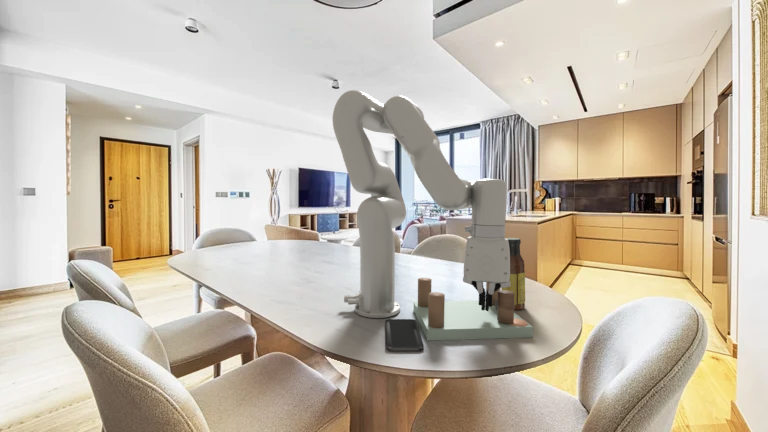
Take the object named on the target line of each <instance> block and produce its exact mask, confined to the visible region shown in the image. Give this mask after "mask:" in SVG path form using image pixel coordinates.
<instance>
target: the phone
mask: <svg viewBox="0 0 768 432" xmlns="http://www.w3.org/2000/svg"><path fill="white" fill-rule="evenodd" d="M417 321H418V320H416V319H413V318H402V319H401V318H393V319H391V318H388V319H386V320H385V348H386V349H385V350H386V351H387V352H390V353H420V352H421V353H422V352H423V351H424V348H425V345H424V342H423V338H422V335H421V331H420V328H419V324H418V322H417Z"/></svg>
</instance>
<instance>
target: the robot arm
mask: <svg viewBox="0 0 768 432" xmlns="http://www.w3.org/2000/svg"><path fill="white" fill-rule="evenodd" d="M332 126H333V128H332V129H333V131H334V135H335V138H336V140H337V144H338V145H339V148H340V151H341V155H342V158H343V161H344V166H345V167H346V171H347V173H348V178H349V181H350V183H351V186H352V188H353V189H354V190H355V191H356V192H357V193H360V194H364V195H370V197H367V198H365V199H364V200H363V201H362V202H361V203H360V204H359V206H358V208H357V211H356V222H357V229H358V234H359V254H360V255H359V258H360V259H359V263H360V264H359V265H360V268H359V270H360V272H359V274H360V281H359V282H360V283H359V285H360V289H359V290H360V291H358V292H359V293H356V294H355V295H349V294H346V295H344V296H343V297H344V298H343V301H344V303H347V305H349V306H350V305H354V312H355V313H356V314H357V315H359V316H361V317H365V318H370V319H383V318H384V319H385V318H390V317H393V316H396V315H397V314H399V313H400V311H401V305H400V304H399V303H398V302H397V301H395V293H396V292H395V282H396V281H395V278H396V277H395V276H396V275H395V273H396V272H395V271H396V269H395V267H396V265H395V263H396V262H395V260H396V259H395V258H396V257H395V256H396V255H395V254H396V247H395V246H396V245H395V238H394V234H393V233H394V232H393V229H395V228H398V227H399V226H401V225H402V224H403V223H404V221H405V220H406V215H407V208H406V204H405V200H404V197H403V194H402V191H401V189H400V186H399V182H398V180H397V177H396V175H395V173H394V170H392V168H391V167H390V166H389V165H387V164H386V163H384V162H381V161H378V160H377V158H376V155H375V152H374V150H373V148H372V147H373V146H372V144H371V142H370V139H369V137H368V136H367V134H366V131H365V129H366V130H368V131H371V132H374V133H380V134H381V133H382V134H389V135H393V136H394V137H395V138H396V140H397V141H398V143H399V144H400V145H401V147H402V149H403V150H404V152H405V153H406V155H407V156H408V158H409V159H410V162H411V165H412V167H413V169H414V171H415V174H416V175H417V178H418V179H419V181H420V182H421V185H422V186H423V187H424V188H425V190H426V192H427V193H428V194H429V196H430V197H431V198H432V200H433V201H434V203H436V205H438V207H440V208H441V209H443V210H446V211H456V210H457V211H458V210H464V209H471V224H470V225H468V226H467V225H465V226H464V232H465V233H469V234H470V236H467V238H466V243H465V250H464V258H463V259H464V260H463V277H462V282H463V283H466V284H468V285H471V286H472V287H474V289H475V290H476V291H477V293H478V301H479V305H481V306H482V307H481V310H483V311H484V310H486V311H489V307H492V294H493V293H494V292H495V291H497V290H498V289H499V288H500V289H502V288H505V287H510V286H511V284H510V279H509V278H510V248H509V242H508V239H506V238H507V237H506V218H507V217H506V214H507V213H506V212H507V191H508V189H507V188H508V187H507V182H506V181H505V180H503V179H500V178H482V179H481V178H480V179H477V180H466V179H462V178H460V177H459V176H458V175H457V174H456V172H455V171H454V169H453V168H452V167H451V165H450V163H449V162H448V160H447V159H446V157H445V155H444V154H443V153H442V150H441V146H440V139H439V137H438V136H437V135H436V133H435V131H433V129H432V128H431V126H430V125H429V124H428V122H427V121H426V120H425V115H424V112H423V111H422V109H421V108H420V107H419V106H418V105H417V104H415V103H414V101H412V100H411V99H409V98H408V97H406V96H403V95H394V96H393V97H390V98H389V99H388V100H386V102H385V103H382V102H379V100H377V99H375V98H374V97H372V96H370V95H369V94H368V93H365V92H363V91H361V90H357V89H356V90H355V89H353V90H348V91H345V92H343V94H341V95H340V96H339V98H338V99H337V101H336V102H335V105H334V109H333V113H332ZM486 282H490V284H489V288H488V289H487V292H486V288H484V283H486ZM485 300H486V303H485Z"/></svg>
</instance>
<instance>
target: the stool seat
mask: <svg viewBox="0 0 768 432" xmlns="http://www.w3.org/2000/svg"><path fill="white" fill-rule="evenodd" d="M489 284H490V282H485V291H486V292H487V289H488V288H489ZM500 290H501V288H499V289H498V290H497V291H495V292H494V293H493V294H492V307H489V311H486V310H484V311H483V310H481V307H482V306H481V305H479V300H452V301H451V300H450V301H449V300H448V301H446V299H445V298H446V297H445V294H444V293H442V292H437V291H432V279H431V278H430V277H419V278H417V301H413V313H414V315H415V317H416V318H417V321H418V323H419V326H420V327H421V330H422V332H423V334H424V335H425V339H426V340H427V341H451V340H452V341H456V340H457V341H458V340H483V339H484V340H486V339H490V340H491V339H492V340H493V339H513V338H514V339H517V338H518V339H520V338H521V339H522V338H533V336H534V335H533V333H534V326H533V325H532V324H530V323H529V322H527V321H526V320H524V319H523V317H521V316H520V315H518V314H517V313H515V312H514V322H513V323H511V324H506V323H501V322H499V321H498V320H497V309H496V308H495V301H496V300H498V291H500ZM485 303H486V299H485Z"/></svg>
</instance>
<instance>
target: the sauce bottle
mask: <svg viewBox="0 0 768 432" xmlns="http://www.w3.org/2000/svg"><path fill="white" fill-rule="evenodd" d="M505 238H506V239H508V242H509V248H510V278H509V279H510V284H511V286H510V287H505V288H501V290H506V291H511V292H514V293H515V295H514V311H515V310H516V311H519V310H523V309H525V308H526V306H525V305H526V270H525V260H524V258H523V257H522V255H521V243H522V242H521V238H520V237H519V238H518V237H505Z"/></svg>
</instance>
